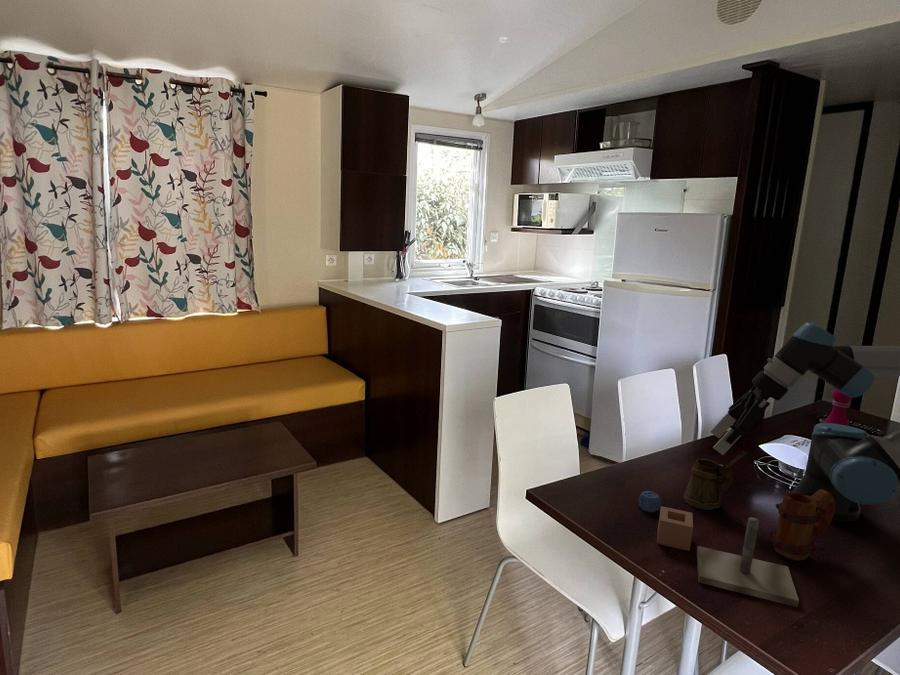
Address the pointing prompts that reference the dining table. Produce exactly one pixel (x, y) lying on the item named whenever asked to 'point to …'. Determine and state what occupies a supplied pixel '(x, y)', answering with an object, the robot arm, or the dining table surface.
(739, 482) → the dining table surface
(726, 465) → the wooden mug
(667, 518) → the bead
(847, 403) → the pepper mill
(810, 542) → the mug
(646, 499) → the decorative dice
